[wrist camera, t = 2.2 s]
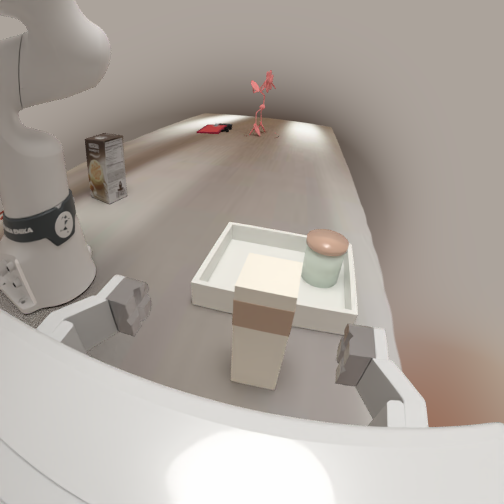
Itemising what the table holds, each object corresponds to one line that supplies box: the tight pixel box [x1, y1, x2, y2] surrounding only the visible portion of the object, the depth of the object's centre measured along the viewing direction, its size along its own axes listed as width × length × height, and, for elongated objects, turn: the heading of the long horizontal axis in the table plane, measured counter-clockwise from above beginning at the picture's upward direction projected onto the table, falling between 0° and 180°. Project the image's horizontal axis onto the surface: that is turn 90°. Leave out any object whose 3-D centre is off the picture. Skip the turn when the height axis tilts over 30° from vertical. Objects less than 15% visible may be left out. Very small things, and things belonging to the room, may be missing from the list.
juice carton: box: [231, 253, 303, 390], centre depth 29 cm, size 5×5×14 cm
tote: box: [191, 222, 358, 335], centre depth 46 cm, size 22×18×4 cm
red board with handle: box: [197, 124, 232, 134], centre depth 153 cm, size 30×3×15 cm
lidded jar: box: [301, 229, 349, 288], centre depth 45 cm, size 6×6×7 cm
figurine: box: [244, 70, 277, 138], centre depth 136 cm, size 15×26×35 cm, turn 161°
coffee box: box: [85, 133, 127, 204], centre depth 66 cm, size 9×6×16 cm
